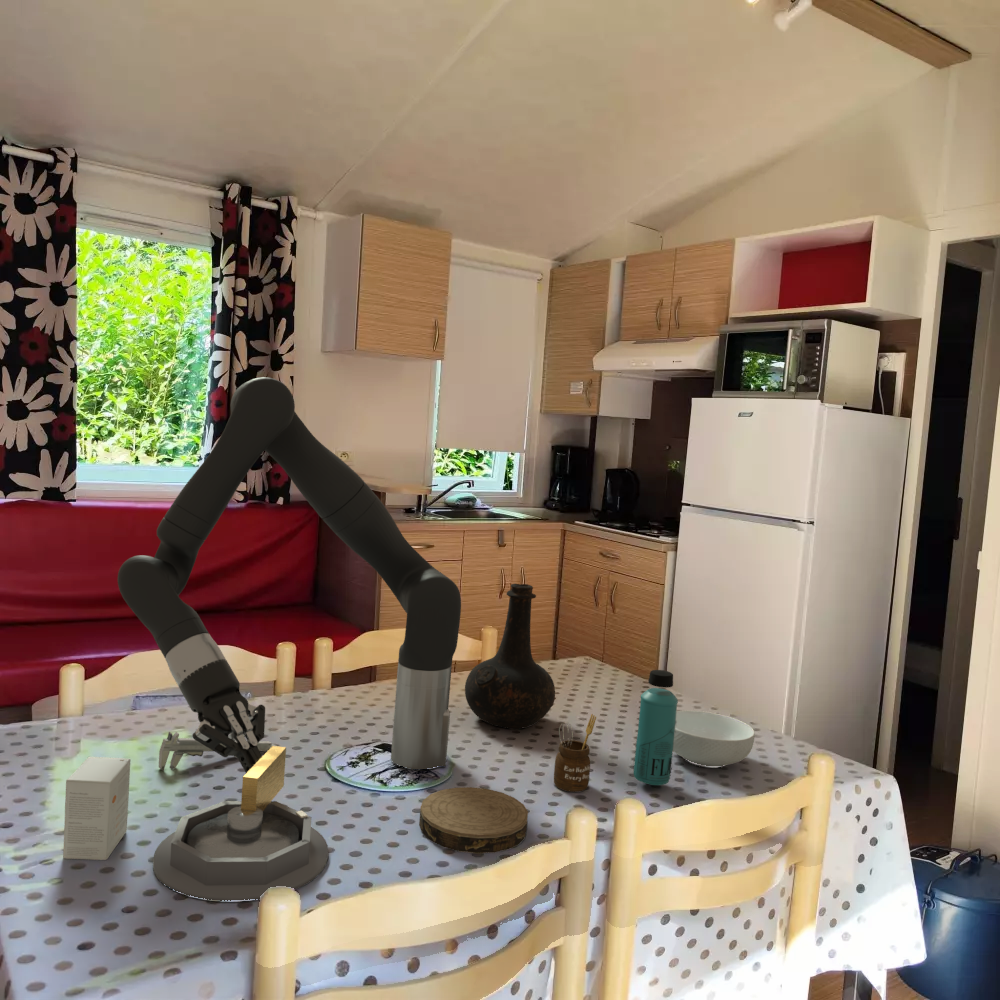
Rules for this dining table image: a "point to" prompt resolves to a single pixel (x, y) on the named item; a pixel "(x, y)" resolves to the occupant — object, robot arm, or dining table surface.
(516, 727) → the glass bottle
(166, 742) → the caliper
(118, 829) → the small box
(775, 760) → the dining table surface
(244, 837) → the dial
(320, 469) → the robot arm
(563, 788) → the utensil holder
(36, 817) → the dining table surface
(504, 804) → the wooden log slice
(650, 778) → the beverage bottle
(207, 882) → the dial housing
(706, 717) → the cereal bowl
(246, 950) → the dining table surface
